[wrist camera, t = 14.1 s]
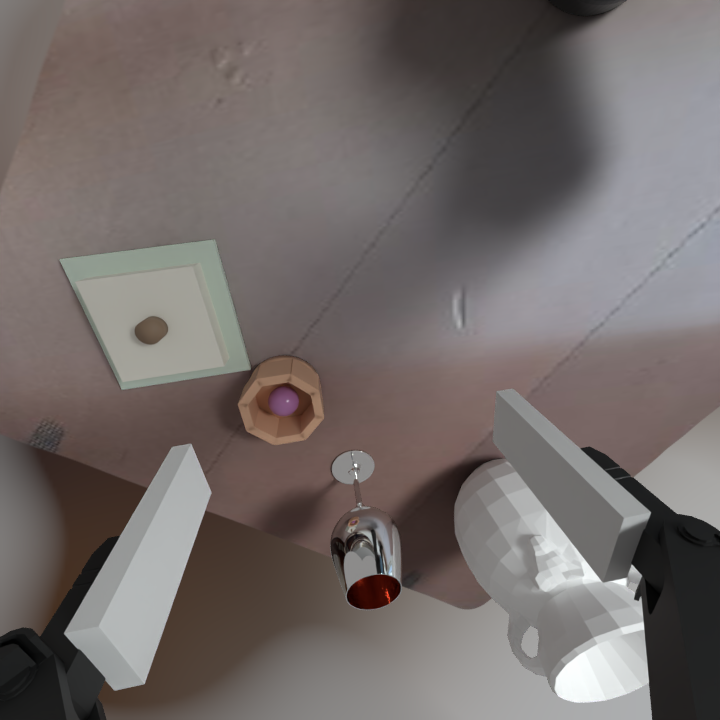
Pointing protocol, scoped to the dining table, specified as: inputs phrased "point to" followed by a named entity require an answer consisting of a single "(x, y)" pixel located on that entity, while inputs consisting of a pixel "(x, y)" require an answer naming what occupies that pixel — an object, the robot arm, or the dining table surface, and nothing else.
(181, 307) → the lid
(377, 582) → the wineglass
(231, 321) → the mat
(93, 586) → the robot arm
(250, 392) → the pot
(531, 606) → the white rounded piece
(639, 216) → the dining table surface
